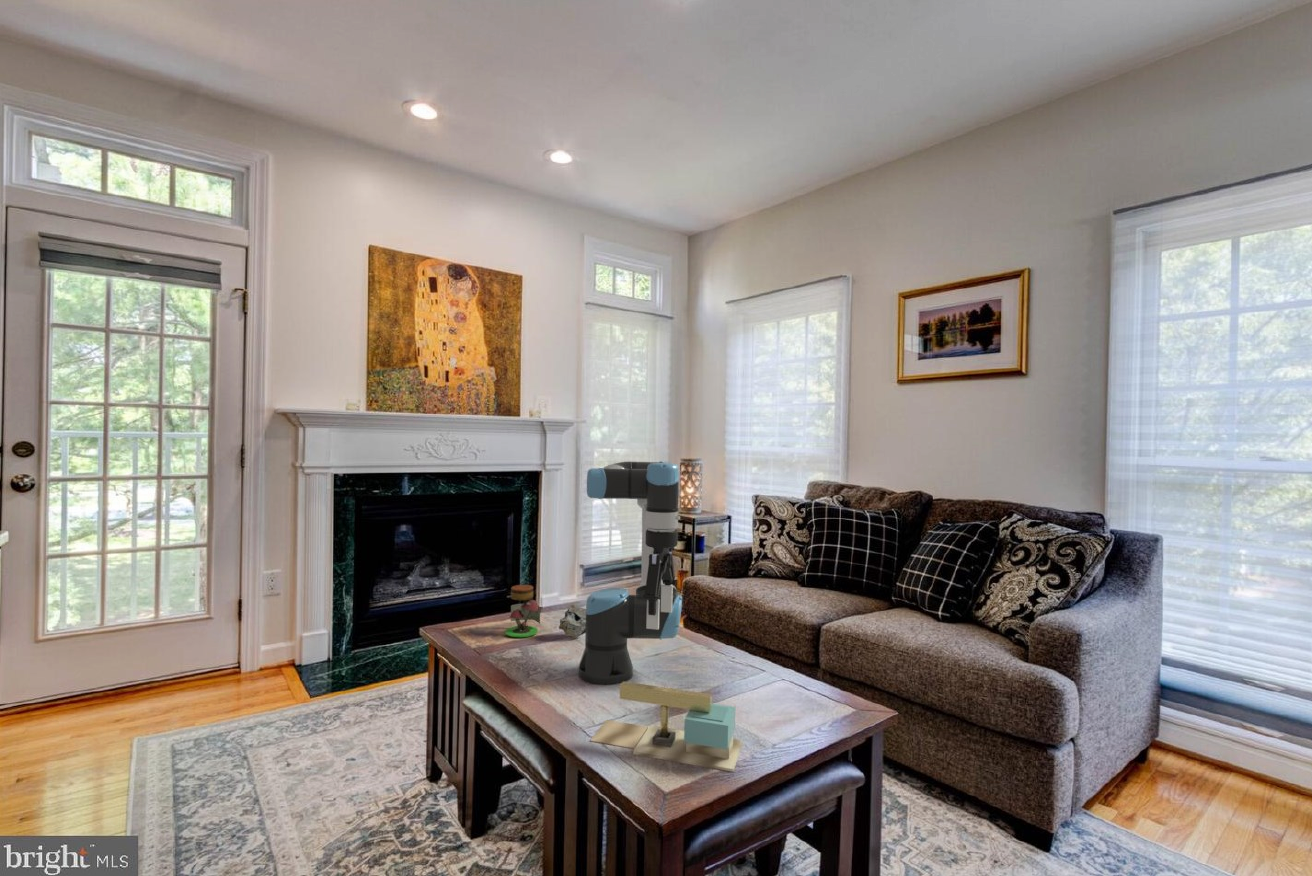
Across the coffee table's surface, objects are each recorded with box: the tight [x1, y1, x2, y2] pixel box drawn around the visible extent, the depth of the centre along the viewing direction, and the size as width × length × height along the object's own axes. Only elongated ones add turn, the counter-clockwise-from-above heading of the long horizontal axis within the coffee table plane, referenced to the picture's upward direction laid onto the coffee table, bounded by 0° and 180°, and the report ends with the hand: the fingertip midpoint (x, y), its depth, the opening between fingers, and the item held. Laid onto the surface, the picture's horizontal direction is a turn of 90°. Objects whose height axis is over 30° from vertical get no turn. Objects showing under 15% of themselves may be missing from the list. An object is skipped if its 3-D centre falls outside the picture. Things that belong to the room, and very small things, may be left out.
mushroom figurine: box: [504, 584, 544, 638], centre depth 202 cm, size 12×13×15 cm
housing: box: [632, 724, 743, 772], centre depth 129 cm, size 21×12×4 cm, turn 73°
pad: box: [589, 719, 649, 750], centre depth 135 cm, size 10×10×1 cm
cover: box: [683, 703, 736, 750], centre depth 128 cm, size 9×9×5 cm
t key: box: [619, 681, 713, 738], centre depth 131 cm, size 20×2×11 cm, turn 73°
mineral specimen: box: [558, 604, 586, 639], centre depth 198 cm, size 10×8×10 cm
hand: (659, 620), depth 142 cm, fingers open, 13 cm apart
